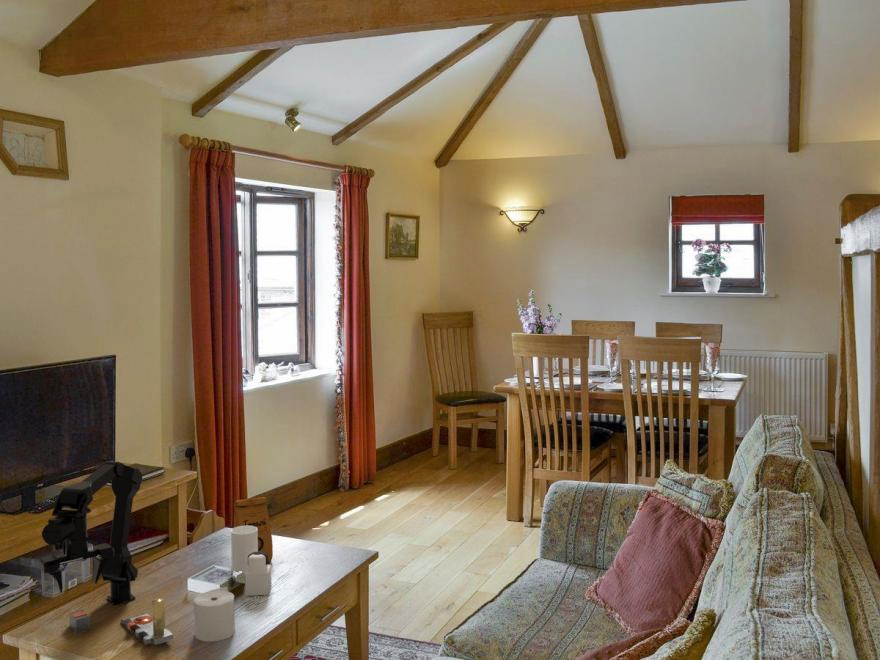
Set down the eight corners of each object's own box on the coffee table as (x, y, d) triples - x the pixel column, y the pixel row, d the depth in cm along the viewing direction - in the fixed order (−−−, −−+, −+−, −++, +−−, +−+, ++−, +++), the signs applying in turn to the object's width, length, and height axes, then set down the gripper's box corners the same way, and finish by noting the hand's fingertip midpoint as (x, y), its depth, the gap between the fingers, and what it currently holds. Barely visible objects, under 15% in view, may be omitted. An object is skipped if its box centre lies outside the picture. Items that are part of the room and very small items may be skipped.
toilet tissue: (197, 645, 224) (196, 608, 223) (191, 626, 235) (190, 592, 234) (238, 638, 229) (237, 602, 228) (230, 620, 240) (229, 586, 239)
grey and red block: (69, 626, 236) (69, 612, 235) (82, 623, 238) (82, 608, 237) (76, 634, 231) (75, 619, 231) (89, 630, 233) (89, 616, 233)
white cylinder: (251, 584, 265) (251, 534, 264) (227, 582, 267) (226, 533, 265) (262, 574, 273) (261, 526, 272) (238, 572, 275) (237, 524, 273)
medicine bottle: (248, 587, 263) (247, 549, 262) (271, 586, 264) (270, 549, 262) (244, 596, 256) (244, 558, 255) (268, 595, 257) (268, 557, 255)
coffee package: (274, 564, 282) (273, 500, 280) (236, 569, 277) (235, 504, 275) (269, 554, 291) (268, 492, 289) (232, 559, 287) (231, 496, 284)
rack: (124, 625, 233) (122, 588, 232) (147, 618, 238) (146, 582, 237) (148, 646, 220) (147, 608, 220) (173, 639, 225) (172, 601, 224)
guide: (120, 623, 237) (120, 619, 237) (143, 616, 242) (143, 613, 242) (146, 645, 224) (146, 642, 224) (170, 638, 228) (170, 634, 228)
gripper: (100, 518, 244) (102, 570, 245) (30, 532, 232) (33, 587, 233) (114, 528, 236) (116, 582, 237) (43, 543, 223) (46, 600, 225)
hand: (78, 587), depth 233 cm, fingers open, 9 cm apart
